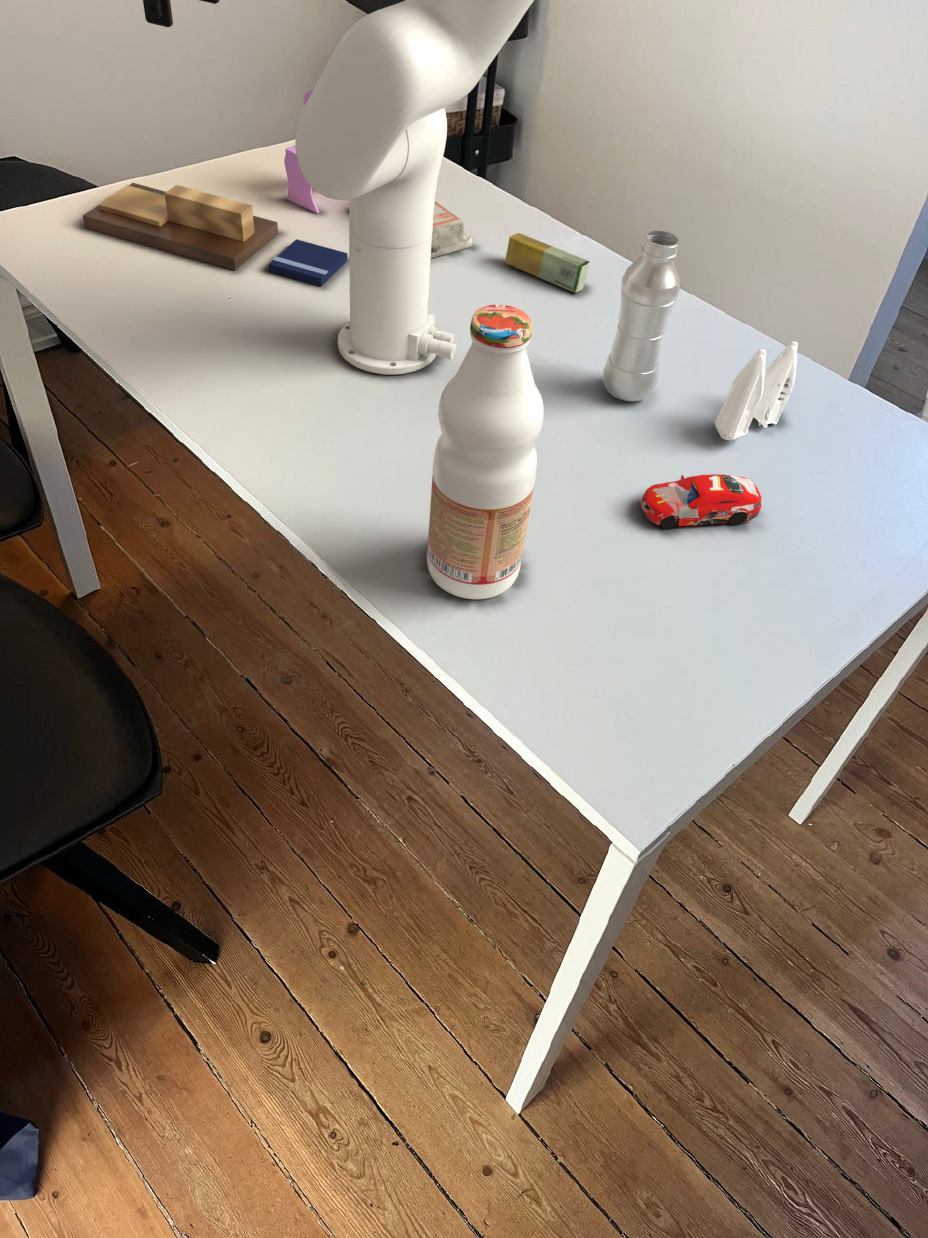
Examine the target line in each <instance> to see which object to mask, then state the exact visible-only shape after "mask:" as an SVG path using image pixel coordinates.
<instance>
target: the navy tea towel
mask: <svg viewBox="0 0 928 1238" xmlns="http://www.w3.org/2000/svg"><path fill="white" fill-rule="evenodd" d="M346 263H348V253H347V252H344V251H340V250H337V249H335V248H330V247H326V246H323V245H319V244H315V243H311V242H308V241H306V240H301V239H294V240H293V242H291V243H289V244H288V245H287V246H286V248H284V249H283V250H282V251H281V252H280V253H279V254H278V255H276V256H274V257H273V258H272V259H271V261H270V262H268V266H267V267H268V272H269V273H272V274H276V275H279V276H283V277H286V278H288V279H292V280H297V281H299V282H303V283H306V284H310V285H313V286H317V287H323V286H324V285H325V284H326V283H327V282H328V281H329V280H330V279H331V278H332V277H333V276H334V275H335V274H336V273H337V272H338V271H339V270H340V269H341V268H342V267H343V266H344V265H345V264H346Z"/></svg>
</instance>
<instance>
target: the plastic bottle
mask: <svg viewBox="0 0 928 1238" xmlns="http://www.w3.org/2000/svg"><path fill="white" fill-rule="evenodd" d="M679 244H680V239H679V237H678V236H677V235H676V234H674V233H672V232H669V231H666V230H659V229H656V230H649V231H648V232H647V233H646V234H645V235H644V240H643V244H642V245H641V248H640V253H641V255H640V256H639V257H638V258H637V259H635V260H634V261H633V262H632V263H631V264H630V265H629V266H627V268H626V270H625V272H624V274H623V276H622V278H621V283H620V284H621V285H620V286H621V287H620V288H621V289H620V306H619V315H618V323H617V329H616V333H615V336H614V339H613V342H612V345H611V349H610V352H609V354H608V356H607V359H606V360H605V364H604V367H603V371H602V382H603V386H604V388H605V390H606V391H607V393H609V395H610V396H612V397H614V398H615V399H618V400H621V401H624V402H638V401H643V400H645V399H646V398H648V397H649V396H650V395H651V394H653V392H654V390H655V388H656V385H657V383H658V381H659V374H660V373H659V372H660V357H661V349H662V342H663V337H664V336H665V335H664V334H665V330H666V328H667V324H668V321H669V318H670V315H671V313H672V312H673V311H672V310H673V309H674V306H675V303H676V301H677V298H678V296H679V293H680V290H681V278H680V275H679V272H678V269H677V266H676V265H675V263H674V260H675V259H676V258H677V255H678V247H679Z"/></svg>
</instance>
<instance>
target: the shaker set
mask: <svg viewBox="0 0 928 1238" xmlns="http://www.w3.org/2000/svg"><path fill="white" fill-rule="evenodd" d="M798 346H799V343H798V342H797V341H790V342H789V343H788V344H787V345H786V346H785V348H784V349H782V351H781V352H780V353H779V354H778V356H777V357H776V358H775V359H774V360H773V362H772V363H771V364H770V365H769V367H768V368H767V369H766V360H767V359H766V358H767V351H766V350H765V349H763V348H761V349H758V350H757V351H756V353H754V355H753V356H751V358H750V359H749V361H748V362H747V363H746V364H745V366H744V367H743V368H742V369H741V370H740V371H739V373H738V374H737V375H736V377H735V378H734V379H733V381H732V383H731V385H730V387H729V390H728V392H727V395H726V397H725V399H724V401H723V404H722V406H721V409H720V411H719V414H718V416H717V417H716V418H715V419H714V426H715V429H716V430H717V432H718V433H719V436H720V438H721V439H723V440H726V441H735V440H736V439H737V438H741V437H743V436H746V435H747V433H748V432H749V427H750V425H751V423H752V421H753V419H755V420H756V421H757V422H758V426H759V427H762V426H763V428H768V425H769V424H773V425H777V424H778V422H779V421H780V420H779V419H780V417H781V415H783V410H784V408H785V406H786V404H787V402H788V400H789V398H790V395H791V393H792V391H793V388H794V385H795V380H796V372H797V362H798V360H797V359H798ZM761 425H762V426H761Z"/></svg>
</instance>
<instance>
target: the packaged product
mask: <svg viewBox="0 0 928 1238" xmlns="http://www.w3.org/2000/svg"><path fill="white" fill-rule="evenodd" d="M464 228H465V226H464V222H463V219H461V218H459V217H458V216H457V215H455V214H454V213H453V212H451V211H450V210H448V209H447V208H445V207H444V206H442V205H441V204H440V203H439V202H437V201H436V200H435V202H434V215H433V231H432V242H431V259H433V258H436V257H440V256H444V255H447V254H452V253H454V252H458V251H461V250H465V249H469V248H470V247H473V235H469V233H468V232H467V231H464Z"/></svg>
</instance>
